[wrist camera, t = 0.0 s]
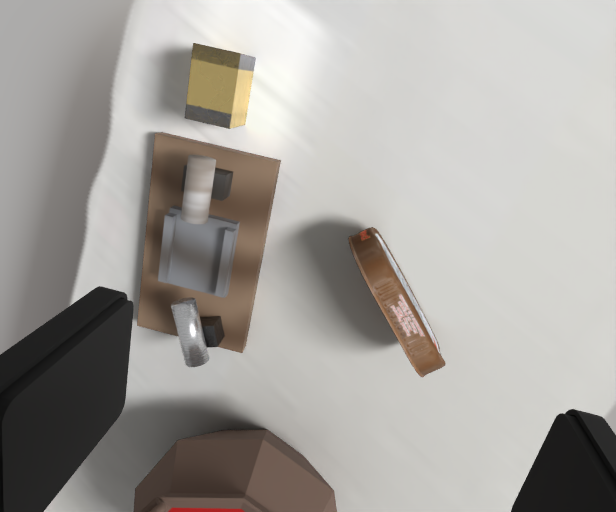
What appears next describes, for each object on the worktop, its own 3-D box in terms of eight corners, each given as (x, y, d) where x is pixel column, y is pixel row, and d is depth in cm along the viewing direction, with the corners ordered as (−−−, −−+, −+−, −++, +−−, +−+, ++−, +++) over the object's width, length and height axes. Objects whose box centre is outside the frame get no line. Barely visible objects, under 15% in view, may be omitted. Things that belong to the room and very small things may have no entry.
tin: (347, 227, 47) (341, 255, 39) (376, 213, 46) (376, 238, 38) (415, 349, 50) (422, 397, 42) (443, 337, 50) (455, 384, 42)
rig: (161, 132, 46) (131, 138, 41) (280, 160, 46) (266, 170, 40) (143, 319, 54) (115, 347, 48) (245, 346, 53) (229, 377, 47)
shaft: (178, 289, 50) (159, 309, 46) (214, 287, 49) (198, 306, 45) (191, 344, 52) (174, 367, 48) (226, 342, 51) (212, 366, 47)
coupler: (213, 48, 43) (193, 43, 39) (255, 57, 43) (240, 53, 38) (204, 115, 45) (184, 118, 41) (245, 124, 45) (229, 128, 40)
